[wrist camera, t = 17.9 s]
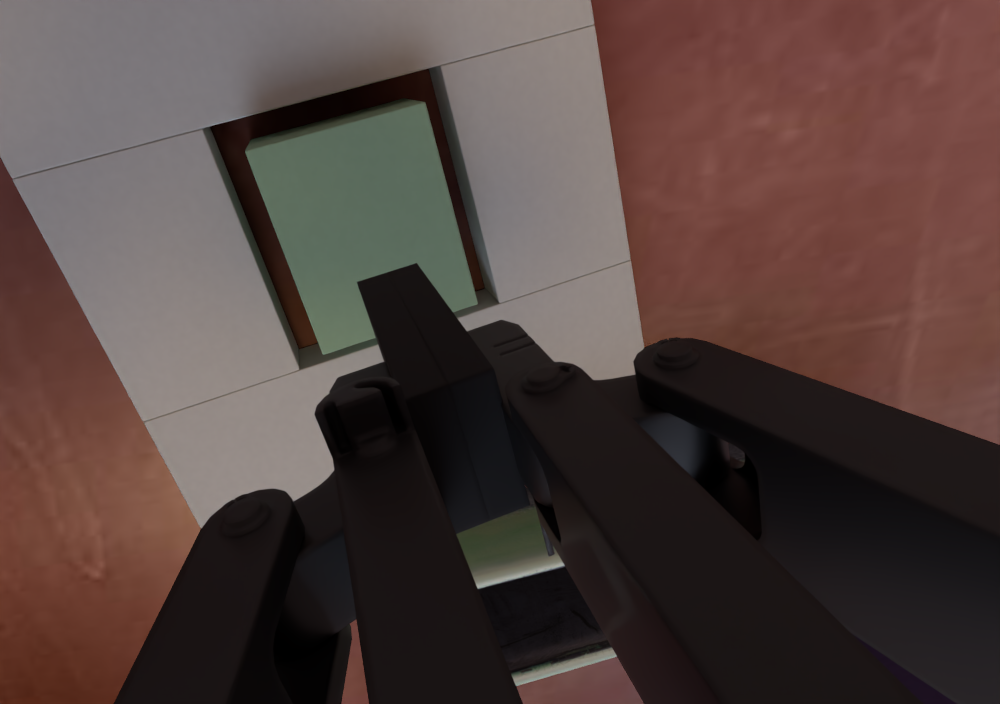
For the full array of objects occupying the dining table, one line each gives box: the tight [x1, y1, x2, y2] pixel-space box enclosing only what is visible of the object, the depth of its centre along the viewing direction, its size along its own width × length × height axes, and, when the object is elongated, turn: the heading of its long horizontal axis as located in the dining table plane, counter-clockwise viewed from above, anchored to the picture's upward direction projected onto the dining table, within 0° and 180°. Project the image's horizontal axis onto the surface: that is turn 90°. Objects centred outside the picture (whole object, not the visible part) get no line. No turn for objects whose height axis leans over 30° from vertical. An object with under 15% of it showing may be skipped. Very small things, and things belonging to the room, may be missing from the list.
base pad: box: [0, 0, 644, 529], centre depth 28 cm, size 22×22×2 cm
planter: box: [456, 443, 745, 686], centre depth 36 cm, size 28×7×7 cm, turn 93°
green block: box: [245, 98, 478, 355], centre depth 27 cm, size 8×6×4 cm
